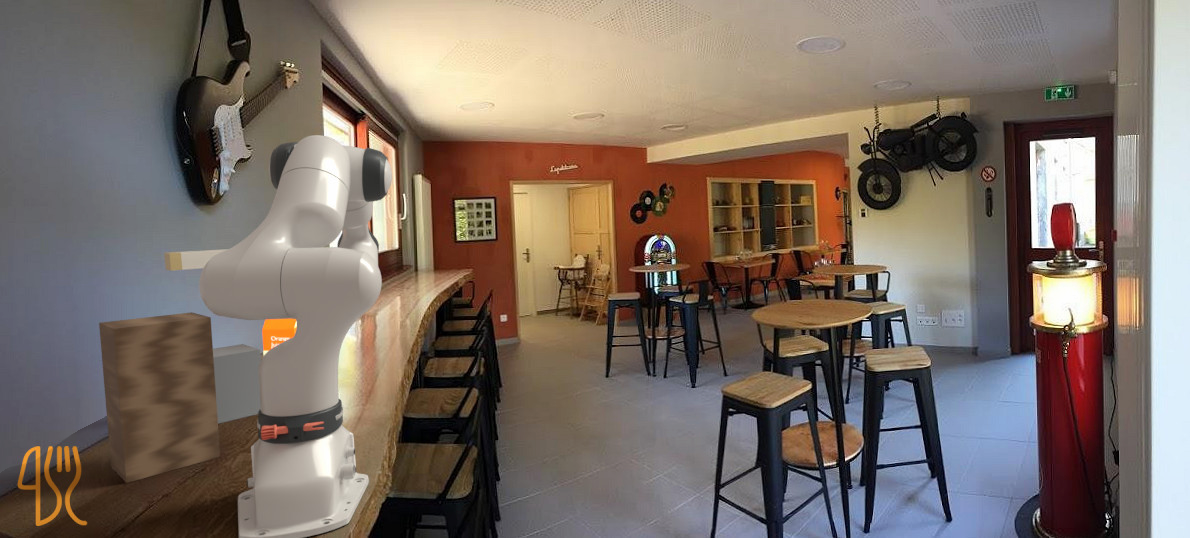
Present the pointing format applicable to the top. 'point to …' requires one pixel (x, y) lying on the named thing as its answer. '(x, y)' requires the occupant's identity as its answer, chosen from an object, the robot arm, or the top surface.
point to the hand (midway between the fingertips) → (251, 253)
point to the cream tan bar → (189, 259)
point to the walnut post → (159, 393)
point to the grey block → (236, 381)
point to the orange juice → (277, 332)
